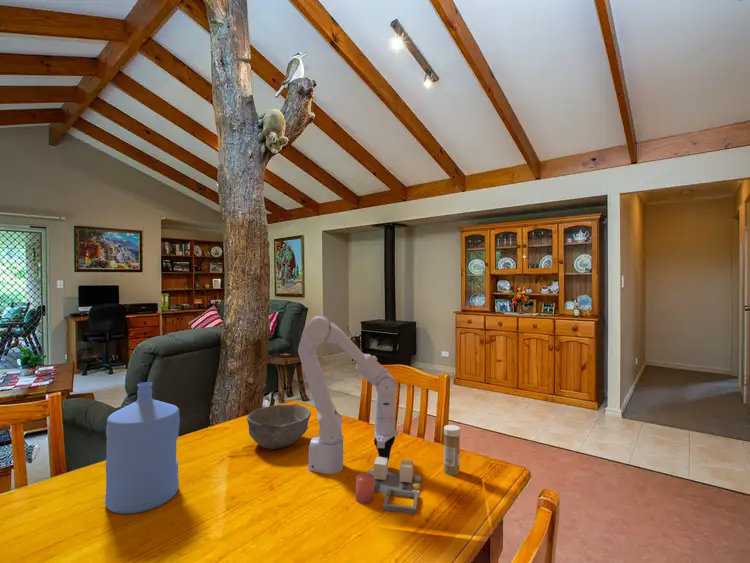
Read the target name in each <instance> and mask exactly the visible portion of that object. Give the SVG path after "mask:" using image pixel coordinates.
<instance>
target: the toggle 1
mask: <svg viewBox="0 0 750 563" xmlns="http://www.w3.org/2000/svg"><path fill="white" fill-rule="evenodd" d="M373 471H374V479H382V480H386V476H387V473H388V472H389V461H388V458H386V457H379V456H376V458H375V459H374V463H373Z"/></svg>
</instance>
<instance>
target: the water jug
mask: <svg viewBox="0 0 750 563" xmlns="http://www.w3.org/2000/svg"><path fill="white" fill-rule="evenodd" d="M152 386H153V382H149V381H147V382H139V383H138V384H137V392H136V393H137V399H136V401H134V402H131V403H130V404H128V405H126V406H124V407H122V408H119V409H118V410H116V411H114V412H112V413H111V414H109V415H108V417H107V420H106V427H105V436H106V459H105V494H104V504H105V507H106V508H107V510H109V511H110V512H113V513H116V514H124V515H125V514H127V515H128V514H137V513H142V512H147V511H149V510H152V509H155V508H157V507H159V506H161V505H164V504H165V503H167V502H168V501H170V500H171V499H172V498H173V497H174V496H175V495H176V493H177V492H178V490H179V486H180V484H179V482H180V480H179V461H178V459H177V442H178V438H179V434H180V423H181V421H180V417H181V416H180V408H179V407H178V406H177V405H176V404H172V403H168V402H164V401H162V400H161V401H160V400H157V399H154V398H153V389H152Z"/></svg>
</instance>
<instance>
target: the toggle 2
mask: <svg viewBox="0 0 750 563" xmlns="http://www.w3.org/2000/svg"><path fill="white" fill-rule="evenodd" d="M399 473H400V482H409V483H412V478H413V475H414V459H405V458H404V459H403V458H401V459H400V465H399Z"/></svg>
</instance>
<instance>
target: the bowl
mask: <svg viewBox="0 0 750 563" xmlns="http://www.w3.org/2000/svg"><path fill="white" fill-rule="evenodd" d="M311 416H312V412H311V410H310V408H308V407H305V406H303V405H298V404H276V405H269V406H265V407H262V408H258V409H255V410H252V412H250V413H249V414H248V415H247V417H246V420H247V424H248V434H249V436H250V437H251V439H252V440H253V441H254V442H255V443H256V444H257V445H259V446H261V447H263V448H267V449H271V450H276V449H277V450H278V449H282V448H285V447H288V446H291V445H292V444H294V443H295V442H297V441H298V440H299V439H301V437H303V436H304V435H305V433H306V432H307V430H308V425H309V421H310V418H311Z"/></svg>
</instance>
